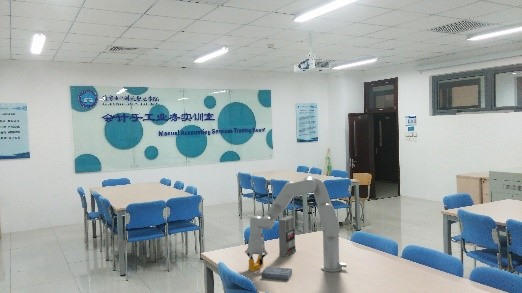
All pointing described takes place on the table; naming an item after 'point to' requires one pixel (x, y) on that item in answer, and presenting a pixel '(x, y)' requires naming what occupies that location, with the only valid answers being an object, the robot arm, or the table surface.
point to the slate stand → (276, 273)
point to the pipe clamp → (254, 264)
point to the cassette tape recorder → (286, 236)
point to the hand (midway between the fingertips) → (256, 264)
